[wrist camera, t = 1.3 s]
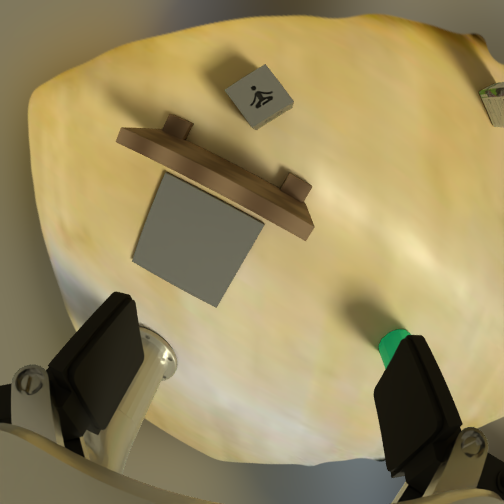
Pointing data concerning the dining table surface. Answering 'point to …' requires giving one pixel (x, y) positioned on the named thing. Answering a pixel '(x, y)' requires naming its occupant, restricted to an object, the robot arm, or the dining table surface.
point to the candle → (391, 344)
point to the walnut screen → (223, 175)
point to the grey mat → (195, 240)
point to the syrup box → (494, 103)
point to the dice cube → (260, 97)
